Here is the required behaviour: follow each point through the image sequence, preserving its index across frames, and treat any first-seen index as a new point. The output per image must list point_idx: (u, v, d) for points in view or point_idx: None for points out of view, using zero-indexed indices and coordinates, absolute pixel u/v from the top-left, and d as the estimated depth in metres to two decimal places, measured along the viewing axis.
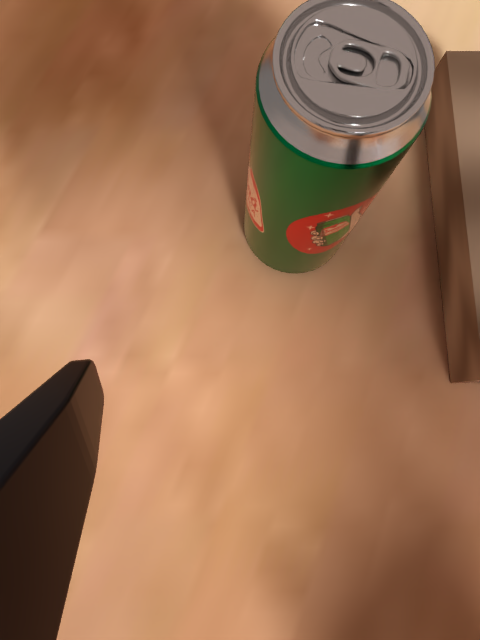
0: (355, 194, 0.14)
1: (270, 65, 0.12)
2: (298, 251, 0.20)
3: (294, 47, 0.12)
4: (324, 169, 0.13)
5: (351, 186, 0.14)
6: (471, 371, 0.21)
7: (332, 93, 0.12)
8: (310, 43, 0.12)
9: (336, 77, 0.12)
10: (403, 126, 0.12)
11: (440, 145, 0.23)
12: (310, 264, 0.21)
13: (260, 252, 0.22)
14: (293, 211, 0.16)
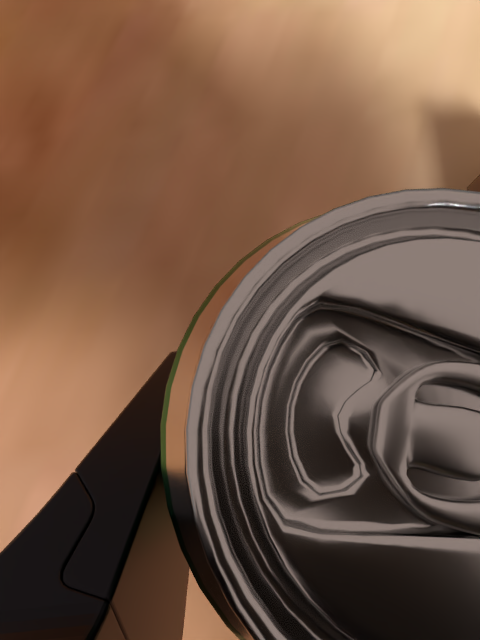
0: None
1: None
2: None
3: (256, 409, 0.04)
4: None
5: None
6: None
7: (402, 592, 0.03)
8: (307, 366, 0.04)
9: (405, 500, 0.04)
10: None
11: None
12: None
13: None
14: None
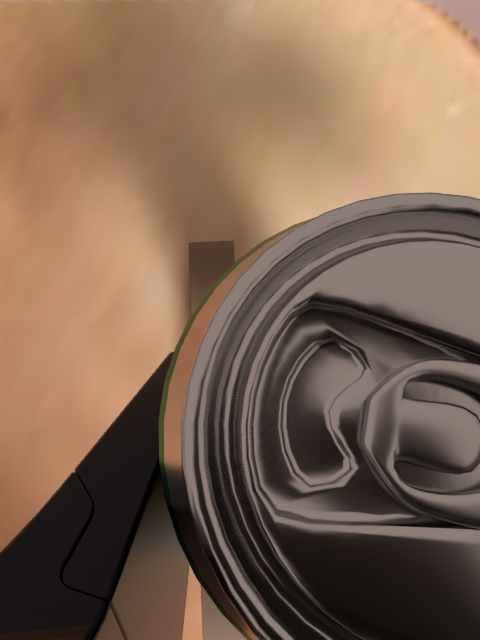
0: None
1: None
2: None
3: (250, 404, 0.04)
4: None
5: None
6: None
7: (387, 579, 0.03)
8: (299, 364, 0.04)
9: (393, 493, 0.04)
10: None
11: None
12: None
13: None
14: None
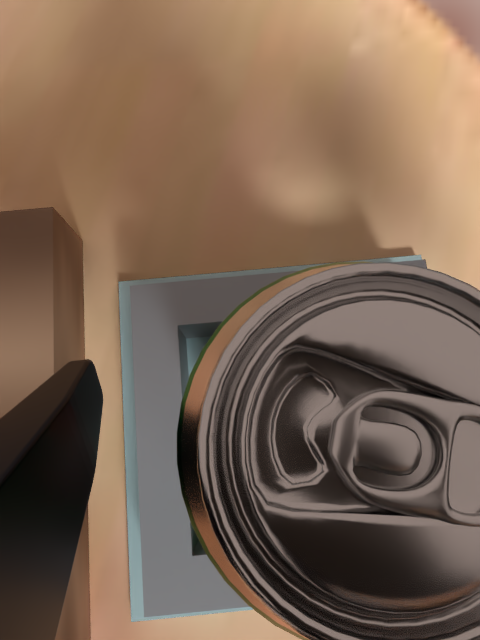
0: None
1: None
2: None
3: (248, 423, 0.05)
4: None
5: None
6: None
7: (347, 551, 0.05)
8: (285, 391, 0.05)
9: (353, 489, 0.05)
10: None
11: None
12: None
13: None
14: None
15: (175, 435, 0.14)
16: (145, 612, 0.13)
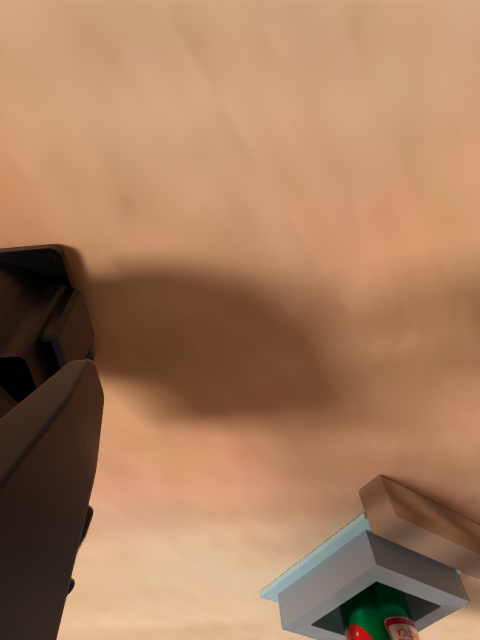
0: None
1: None
2: (360, 625, 0.32)
3: None
4: None
5: None
6: (395, 504, 0.28)
7: None
8: None
9: None
10: None
11: None
12: None
13: (372, 585, 0.33)
14: None
15: (413, 591, 0.33)
16: (377, 565, 0.30)
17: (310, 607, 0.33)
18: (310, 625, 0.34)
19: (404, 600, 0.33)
